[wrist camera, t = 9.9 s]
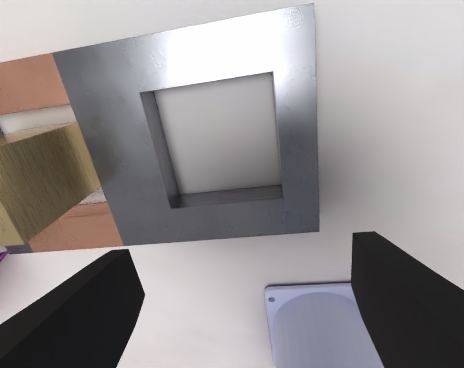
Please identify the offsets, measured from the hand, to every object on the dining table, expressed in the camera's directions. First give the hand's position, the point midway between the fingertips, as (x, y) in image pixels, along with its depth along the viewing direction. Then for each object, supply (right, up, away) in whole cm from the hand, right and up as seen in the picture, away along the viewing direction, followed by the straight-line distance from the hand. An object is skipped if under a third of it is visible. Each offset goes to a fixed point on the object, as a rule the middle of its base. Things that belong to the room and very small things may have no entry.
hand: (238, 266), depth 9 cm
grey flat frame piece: (-6, +5, +9) cm, 12 cm away
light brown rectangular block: (-12, +4, +10) cm, 16 cm away
